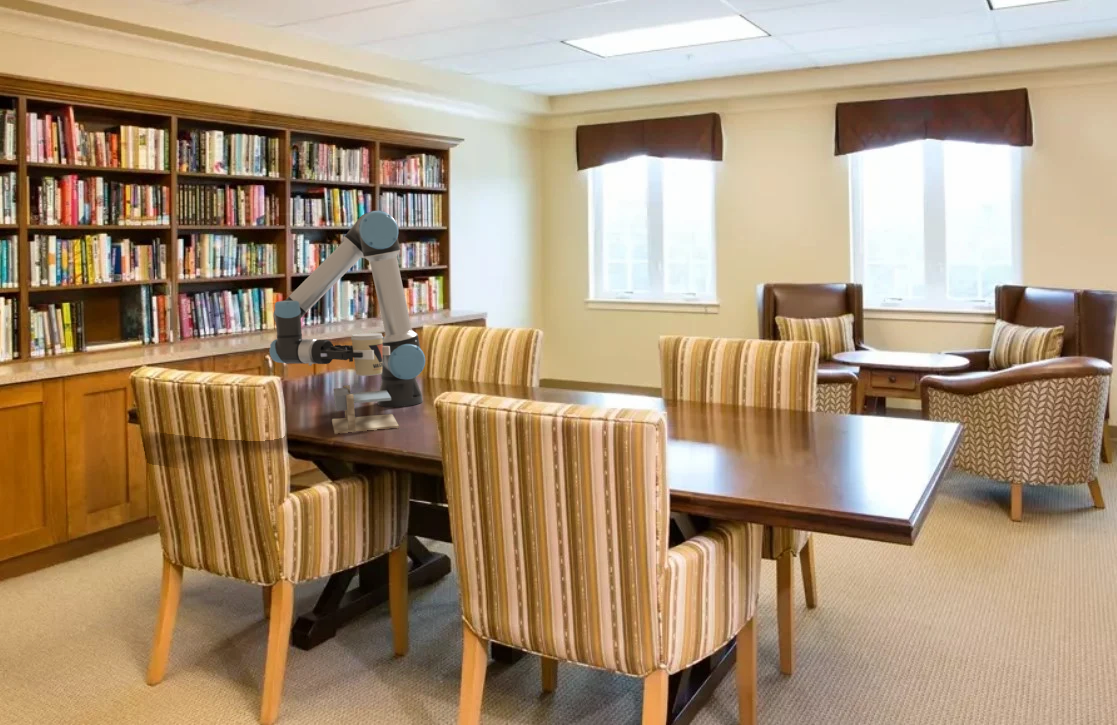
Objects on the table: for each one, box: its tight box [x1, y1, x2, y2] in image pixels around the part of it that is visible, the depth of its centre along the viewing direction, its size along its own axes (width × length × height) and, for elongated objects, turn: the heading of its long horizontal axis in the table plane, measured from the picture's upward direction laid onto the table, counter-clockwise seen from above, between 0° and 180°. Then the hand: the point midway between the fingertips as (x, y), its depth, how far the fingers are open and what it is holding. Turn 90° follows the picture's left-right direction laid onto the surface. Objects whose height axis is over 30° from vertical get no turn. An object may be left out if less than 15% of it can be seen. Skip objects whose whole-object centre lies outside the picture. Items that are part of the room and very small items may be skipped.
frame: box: [331, 384, 400, 435], centre depth 276 cm, size 18×19×11 cm
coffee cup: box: [350, 332, 384, 377], centre depth 275 cm, size 9×9×12 cm
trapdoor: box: [333, 387, 391, 412], centre depth 275 cm, size 16×14×4 cm
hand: (381, 352), depth 273 cm, fingers closed on coffee cup, 9 cm apart
